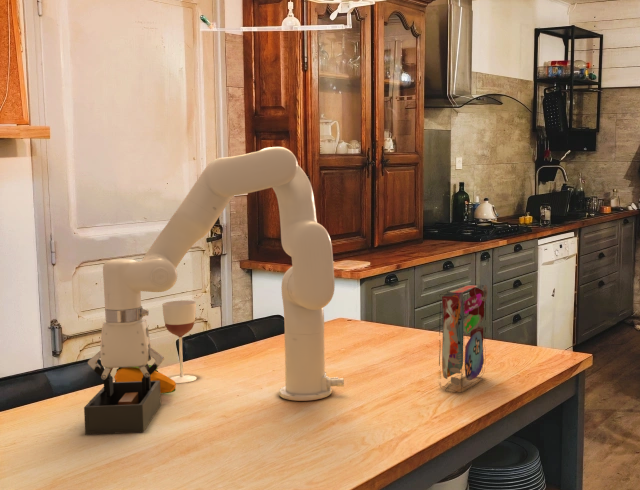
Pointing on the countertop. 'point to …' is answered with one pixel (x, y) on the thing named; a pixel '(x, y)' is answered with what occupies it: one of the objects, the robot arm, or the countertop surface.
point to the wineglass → (180, 327)
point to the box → (454, 333)
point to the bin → (121, 409)
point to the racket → (129, 399)
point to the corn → (136, 375)
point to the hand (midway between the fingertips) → (127, 393)
